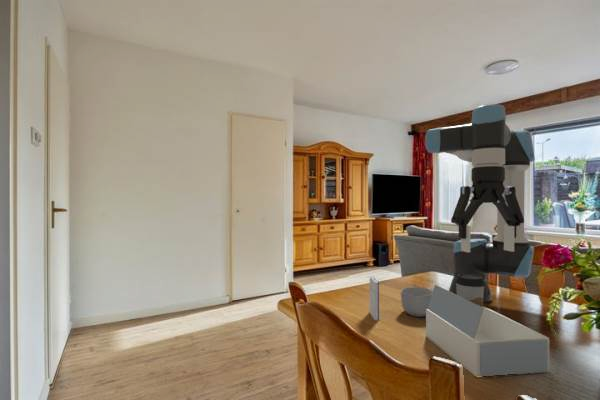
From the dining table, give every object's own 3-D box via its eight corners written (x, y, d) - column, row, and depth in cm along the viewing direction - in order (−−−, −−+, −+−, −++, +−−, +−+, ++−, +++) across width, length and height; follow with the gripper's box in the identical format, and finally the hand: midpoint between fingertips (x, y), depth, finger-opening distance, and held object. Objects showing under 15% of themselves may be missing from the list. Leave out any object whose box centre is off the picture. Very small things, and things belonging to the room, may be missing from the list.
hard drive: (373, 311, 116) (373, 276, 116) (379, 320, 108) (379, 282, 107) (369, 311, 116) (369, 276, 116) (374, 320, 108) (374, 282, 107)
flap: (436, 284, 94) (434, 284, 94) (483, 308, 74) (482, 307, 74) (428, 309, 94) (427, 308, 94) (474, 339, 74) (472, 338, 74)
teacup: (436, 320, 108) (436, 296, 108) (402, 318, 110) (402, 294, 110) (428, 306, 121) (429, 284, 121) (398, 304, 124) (398, 283, 124)
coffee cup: (469, 329, 100) (469, 280, 100) (449, 320, 108) (449, 274, 108) (491, 326, 102) (491, 278, 102) (470, 317, 110) (470, 272, 110)
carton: (484, 332, 98) (484, 305, 98) (554, 374, 75) (554, 339, 75) (424, 335, 96) (425, 308, 96) (478, 380, 72) (478, 343, 72)
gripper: (518, 168, 90) (518, 248, 90) (436, 167, 87) (436, 249, 88) (541, 165, 83) (541, 252, 83) (453, 164, 80) (452, 254, 80)
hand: (487, 251), depth 85 cm, fingers open, 11 cm apart
